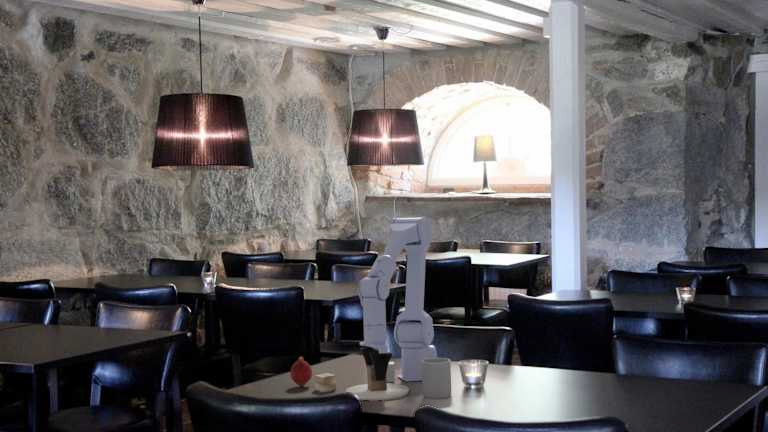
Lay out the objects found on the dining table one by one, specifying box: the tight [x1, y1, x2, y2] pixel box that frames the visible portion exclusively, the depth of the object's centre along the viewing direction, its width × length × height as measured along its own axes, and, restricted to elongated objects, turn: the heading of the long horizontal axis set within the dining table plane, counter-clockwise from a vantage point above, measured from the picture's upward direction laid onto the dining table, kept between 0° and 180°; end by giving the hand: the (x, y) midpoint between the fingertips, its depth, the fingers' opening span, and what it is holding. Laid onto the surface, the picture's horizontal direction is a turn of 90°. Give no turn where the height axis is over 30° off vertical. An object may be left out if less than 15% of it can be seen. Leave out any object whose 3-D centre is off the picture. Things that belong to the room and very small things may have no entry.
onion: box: [290, 356, 313, 388], centre depth 263 cm, size 6×6×8 cm
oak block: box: [314, 372, 337, 393], centre depth 258 cm, size 4×4×4 cm
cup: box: [421, 357, 452, 400], centre depth 247 cm, size 7×10×9 cm
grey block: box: [386, 361, 396, 383], centre depth 267 cm, size 4×4×5 cm
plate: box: [345, 383, 410, 402], centre depth 251 cm, size 16×16×1 cm
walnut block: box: [366, 365, 387, 392], centre depth 250 cm, size 4×4×6 cm
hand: (376, 377), depth 250 cm, fingers open, 7 cm apart
